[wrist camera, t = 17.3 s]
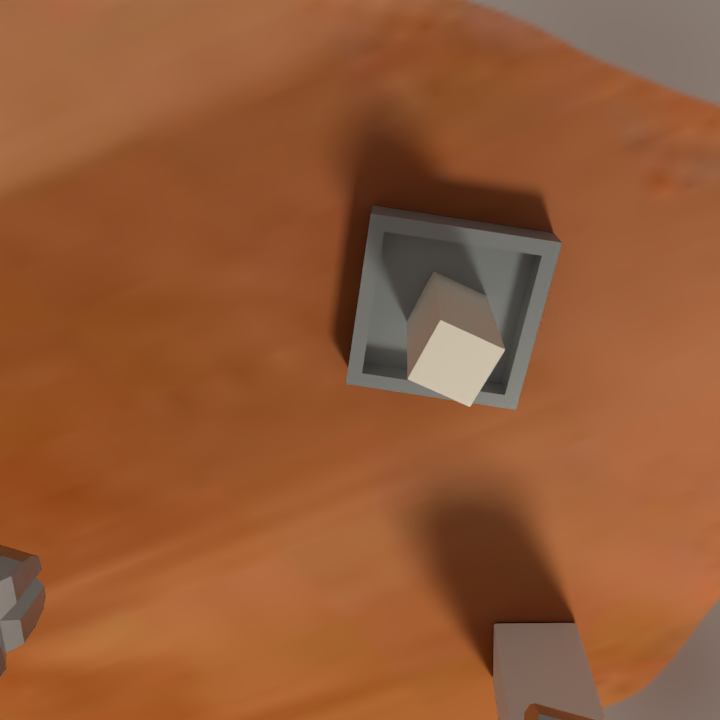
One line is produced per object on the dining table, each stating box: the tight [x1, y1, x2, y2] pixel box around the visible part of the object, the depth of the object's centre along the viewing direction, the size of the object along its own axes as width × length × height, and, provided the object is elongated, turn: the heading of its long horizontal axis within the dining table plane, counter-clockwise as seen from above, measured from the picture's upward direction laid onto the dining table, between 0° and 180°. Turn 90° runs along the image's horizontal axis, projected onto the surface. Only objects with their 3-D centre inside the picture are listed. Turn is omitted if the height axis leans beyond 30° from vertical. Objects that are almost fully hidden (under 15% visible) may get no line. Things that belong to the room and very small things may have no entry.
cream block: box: [407, 271, 505, 407], centre depth 41 cm, size 4×4×9 cm
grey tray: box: [346, 205, 562, 410], centre depth 44 cm, size 12×12×2 cm
